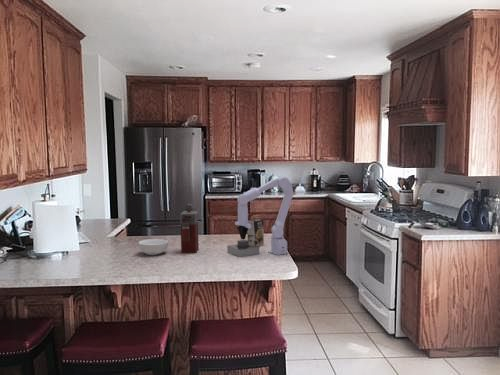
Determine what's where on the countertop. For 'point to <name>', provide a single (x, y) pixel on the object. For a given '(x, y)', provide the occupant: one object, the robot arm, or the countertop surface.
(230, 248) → the socket plate
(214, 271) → the countertop surface
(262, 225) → the coffee box
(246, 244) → the plug
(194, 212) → the glass bottle
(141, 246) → the cereal bowl
